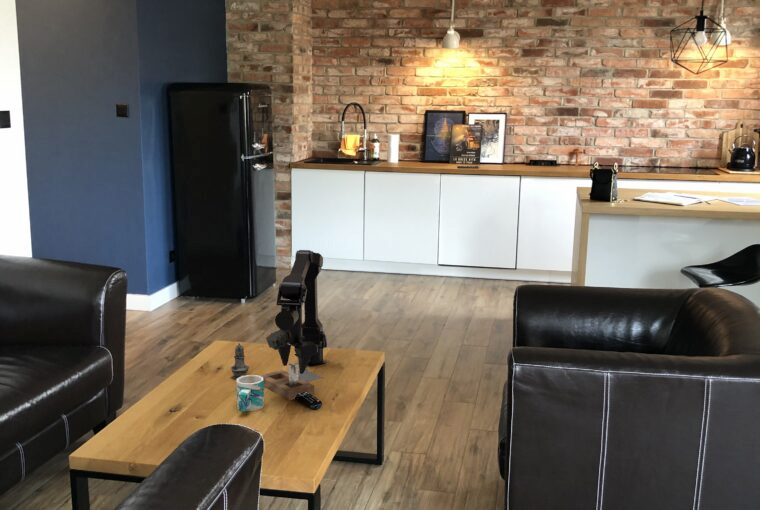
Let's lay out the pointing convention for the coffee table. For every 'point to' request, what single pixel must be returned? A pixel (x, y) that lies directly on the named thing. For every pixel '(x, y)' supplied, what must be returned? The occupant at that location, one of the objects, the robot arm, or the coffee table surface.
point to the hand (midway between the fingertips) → (293, 369)
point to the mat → (308, 376)
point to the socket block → (285, 384)
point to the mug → (250, 392)
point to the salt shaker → (239, 363)
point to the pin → (293, 375)
